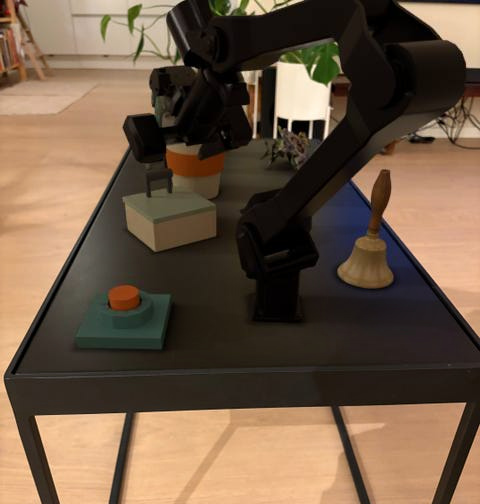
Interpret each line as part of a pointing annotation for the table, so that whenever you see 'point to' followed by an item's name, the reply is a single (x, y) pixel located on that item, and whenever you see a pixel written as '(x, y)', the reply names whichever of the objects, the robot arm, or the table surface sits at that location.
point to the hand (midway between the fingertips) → (173, 162)
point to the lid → (166, 199)
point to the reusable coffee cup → (193, 166)
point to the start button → (124, 298)
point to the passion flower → (289, 148)
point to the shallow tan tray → (171, 229)
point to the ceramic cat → (160, 113)
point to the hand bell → (371, 244)
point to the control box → (125, 323)
